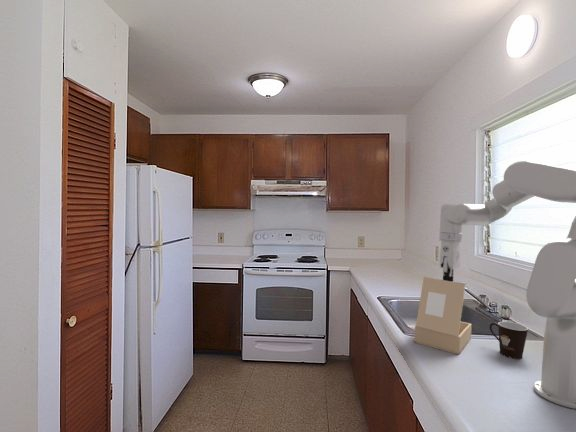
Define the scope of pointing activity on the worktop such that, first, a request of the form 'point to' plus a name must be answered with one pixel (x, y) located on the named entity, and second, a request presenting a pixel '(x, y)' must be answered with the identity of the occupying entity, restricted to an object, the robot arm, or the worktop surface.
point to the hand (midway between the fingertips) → (447, 286)
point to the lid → (441, 306)
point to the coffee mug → (511, 338)
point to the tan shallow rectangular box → (444, 338)
